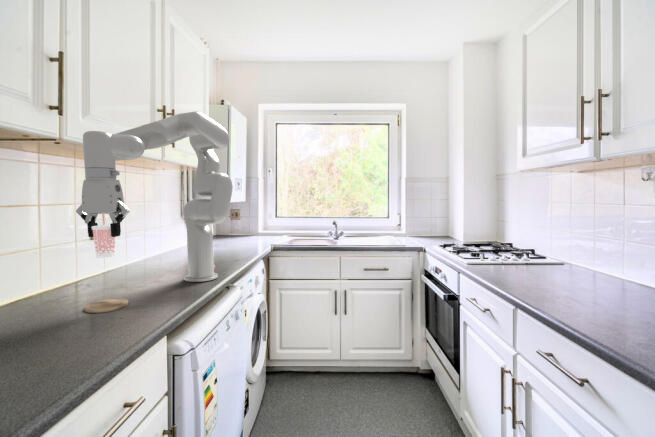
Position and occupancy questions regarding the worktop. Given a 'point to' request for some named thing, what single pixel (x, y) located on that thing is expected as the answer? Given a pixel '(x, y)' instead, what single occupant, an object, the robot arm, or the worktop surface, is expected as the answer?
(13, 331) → the worktop surface
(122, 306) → the plate
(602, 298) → the worktop surface
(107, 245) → the beverage cup
